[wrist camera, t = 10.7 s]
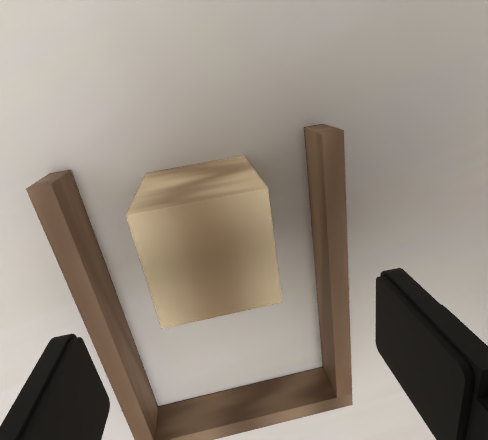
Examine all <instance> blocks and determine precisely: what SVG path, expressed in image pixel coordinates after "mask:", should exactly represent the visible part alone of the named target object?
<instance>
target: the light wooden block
mask: <svg viewBox="0 0 488 440" xmlns="http://www.w3.org/2000/svg"><path fill="white" fill-rule="evenodd" d="M126 218H127V221H128V224H129V227H130V230H131V233H132V237H133V240H134V243H135V246H136V249H137V252H138V256H139V259H140V262H141V265H142V268H143V271H144V275H145V278H146V281H147V284H148V287H149V290H150V294H151V297H152V300H153V303H154V306H155V309H156V313H157V316H158V319H159V322H160V325H161V329H163V328H168V327H172V326H177V325H181V324H186V323H190V322H195V321H199V320H204V319H209V318H213V317H218V316H222V315H227V314H231V313H236V312H240V311H245V310H249V309H254V308H259V307H263V306H268V305H272V304H277V303H281V302H282V296H281V288H280V280H279V272H278V264H277V256H276V248H275V240H274V232H273V225H272V217H271V209H270V201H269V193H268V187H267V186H266V185H265V183H264V182H263V181H262V179H261V178H260V177H259V175H258V174H257V173H256V171H255V170H254V169H253V167H252V166H251V164H250V163H249V162H248V160H247V159H246V158H245V156H244V155H243V156H237V157H232V158H226V159H221V160H215V161H210V162H204V163H199V164H193V165H188V166H182V167H177V168H171V169H166V170H161V171H155V172H150V173H146V174H145V176H144V178H143V180H142V183H141V185H140V187H139V189H138V191H137V193H136V195H135V197H134V199H133V201H132V203H131V205H130V207H129V209H128V212H127V214H126Z"/></svg>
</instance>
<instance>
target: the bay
mask: <svg viewBox="0 0 488 440" xmlns="http://www.w3.org/2000/svg"><path fill="white" fill-rule="evenodd" d="M304 132H305V144H306V157H307V170H308V183H309V196H310V208H311V221H312V234H313V247H314V260H315V272H316V285H317V298H318V311H319V324H320V336H321V349H322V362H323V367H322V368H317V369H313V370H309V371H305V372H301V373H297V374H292V375H288V376H284V377H280V378H276V379H272V380H267V381H263V382H259V383H255V384H251V385H247V386H243V387H238V388H234V389H230V390H226V391H222V392H218V393H213V394H209V395H205V396H201V397H197V398H193V399H188V400H184V401H180V402H176V403H172V404H168V405H164V406H159V407H158V405H157V403H156V400H155V397H154V395H153V392H152V389H151V386H150V384H149V381H148V378H147V376H146V373H145V370H144V367H143V365H142V362H141V359H140V357H139V354H138V351H137V348H136V346H135V343H134V340H133V338H132V335H131V332H130V329H129V327H128V324H127V321H126V319H125V316H124V313H123V310H122V308H121V305H120V302H119V300H118V297H117V294H116V291H115V289H114V286H113V283H112V281H111V278H110V275H109V272H108V270H107V267H106V264H105V262H104V259H103V256H102V253H101V251H100V248H99V245H98V243H97V240H96V237H95V235H94V232H93V229H92V226H91V224H90V221H89V218H88V216H87V213H86V210H85V207H84V205H83V202H82V199H81V197H80V194H79V191H78V188H77V186H76V183H75V180H74V178H73V175H72V172H71V170H67V171H62V172H56V173H51V174H48V175H47V176H45V177H44V178H42V179H41V180H39V181H37V182H36V183H34V184H33V185H31V186H30V187H28V188H27V189H26V190H27V192H28V194H29V197H30V199H31V201H32V204H33V206H34V208H35V211H36V213H37V215H38V218H39V220H40V222H41V224H42V227H43V229H44V231H45V234H46V236H47V238H48V241H49V243H50V245H51V247H52V250H53V252H54V254H55V257H56V259H57V261H58V264H59V266H60V268H61V271H62V273H63V275H64V277H65V280H66V282H67V284H68V287H69V289H70V291H71V294H72V296H73V298H74V301H75V303H76V305H77V307H78V310H79V312H80V314H81V317H82V319H83V321H84V324H85V326H86V328H87V331H88V333H89V335H90V337H91V340H92V342H93V344H94V347H95V349H96V351H97V354H98V356H99V358H100V361H101V363H102V365H103V367H104V370H105V372H106V374H107V377H108V379H109V381H110V384H111V386H112V388H113V390H114V393H115V395H116V397H117V400H118V402H119V404H120V407H121V409H122V411H123V414H124V416H125V418H126V420H127V423H128V425H129V427H130V430H131V432H132V434H133V437H134V439H135V440H214V439H218V438H222V437H226V436H230V435H234V434H238V433H242V432H246V431H250V430H254V429H258V428H262V427H266V426H270V425H274V424H278V423H282V422H286V421H290V420H294V419H298V418H302V417H305V416H309V415H313V414H317V413H321V412H325V411H329V410H333V409H337V408H341V407H345V406H349V405H352V375H351V344H350V313H349V282H348V251H347V220H346V189H345V158H344V130H341V129H337V128H334V127H331V126H328V125H325V124H320V125H315V126H309V127H304Z"/></svg>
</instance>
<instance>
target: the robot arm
mask: <svg viewBox="0 0 488 440" xmlns="http://www.w3.org/2000/svg"><path fill="white" fill-rule="evenodd" d="M376 346H377V349H378V351H379V353H380V355H381V356H382V358H383V359H384V361H385V362H386V364H387V365H388V367H389V368H390V370H391V371H392V373H393V374H394V376H395V377H396V379H397V380H398V382H399V383H400V385H401V386H402V388H403V390H404V391H405V393H406V394H407V396H408V397H409V399H410V400H411V402H412V403H413V405H414V406H415V408H416V409H417V411H418V412H419V414H420V415H421V417H422V418H423V420H424V421H425V423H426V425H427V426H428V428H429V429H430V431H431V432H432V434H433V435H434V437H435V438H436V440H488V346H487V345H486V344H485V343H484V342H483V341H481V340H480V339H479V338H478V337H477V336H476V335H475V334H474V333H473V332H472V331H471V330H470V329H469V328H467V327H466V326H465V325H464V324H463V323H462V322H461V321H460V320H459V319H458V318H457V317H456V316H454V315H453V314H452V313H451V312H450V311H449V310H448V309H447V308H446V307H444V306H443V305H441V304H439V303H438V302H437V301H436V300H435V299H434V298H433V297H432V296H431V295H430V294H429V293H428V292H427V291H425V290H424V289H423V288H422V287H421V286H420V285H419V284H418V283H417V282H416V281H415V280H414V279H413V278H412V277H410V276H409V275H408V274H407V273H406V272H405V271H404V270H403V269H401V268H397V269H392V270H387V271H383V272H381V276H380V277H377V279H376ZM109 408H110V402H109V397H108V395H107V393H106V390H105V388H104V386H103V384H102V381H101V379H100V377H99V375H98V373H97V370H96V368H95V366H94V364H93V361H92V359H91V357H90V355H89V352H88V350H87V348H86V346H85V343H84V341H83V339H82V338H81V337H78V338H77V337H76V335H74V334H69V335H64V336H59V337H54V338H52V339H51V340H50V341H49V343H48V345H47V347H46V348H45V350H44V352H43V354H42V355H41V357H40V359H39V361H38V362H37V364H36V366H35V367H34V369H33V371H32V373H31V374H30V376H29V378H28V380H27V381H26V383H25V385H24V386H23V388H22V390H21V392H20V393H19V395H18V397H17V399H16V400H15V402H14V404H13V405H12V407H11V409H10V411H9V412H8V414H7V416H6V418H5V419H4V421H3V423H2V424H1V426H0V440H101V438H102V435H103V431H104V428H105V424H106V420H107V417H108V413H109Z"/></svg>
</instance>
